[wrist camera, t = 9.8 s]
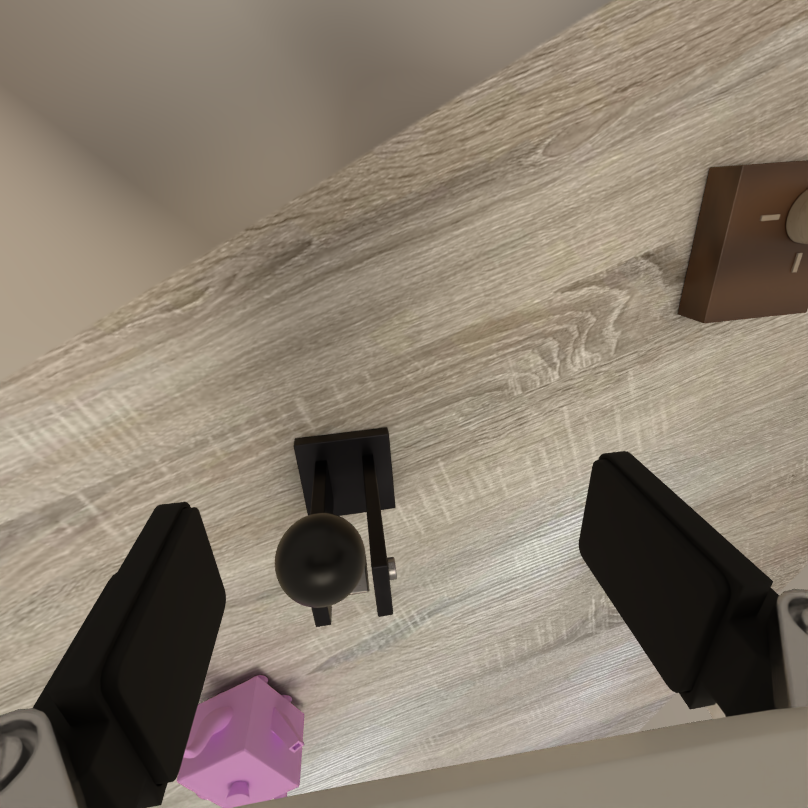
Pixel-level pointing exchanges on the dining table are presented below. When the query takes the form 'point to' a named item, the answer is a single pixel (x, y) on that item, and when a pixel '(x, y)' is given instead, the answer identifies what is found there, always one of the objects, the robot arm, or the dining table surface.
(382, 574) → the black lever stand
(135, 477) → the dining table surface
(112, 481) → the dining table surface
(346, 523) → the faucet lever
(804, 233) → the tap knob
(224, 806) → the teapot
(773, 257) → the tap panel
